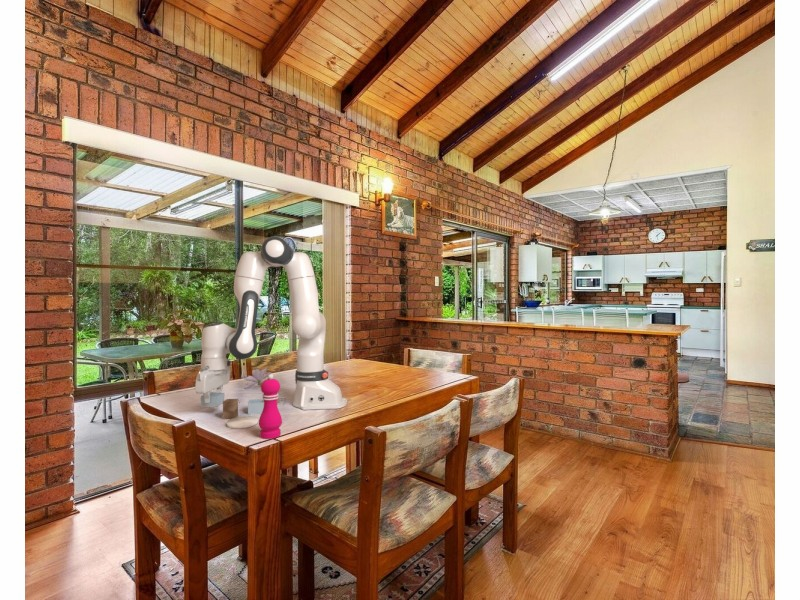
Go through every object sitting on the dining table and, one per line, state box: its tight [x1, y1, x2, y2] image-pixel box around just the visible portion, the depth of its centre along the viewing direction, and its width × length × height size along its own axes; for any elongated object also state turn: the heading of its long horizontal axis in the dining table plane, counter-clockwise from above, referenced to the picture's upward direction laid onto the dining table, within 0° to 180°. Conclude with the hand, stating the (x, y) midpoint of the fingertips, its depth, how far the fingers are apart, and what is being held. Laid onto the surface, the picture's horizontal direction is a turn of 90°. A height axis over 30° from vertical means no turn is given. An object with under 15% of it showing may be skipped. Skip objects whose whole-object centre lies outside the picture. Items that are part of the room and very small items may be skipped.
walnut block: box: [222, 398, 239, 420], centre depth 152 cm, size 4×4×6 cm
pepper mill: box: [258, 373, 283, 440], centre depth 132 cm, size 7×7×20 cm
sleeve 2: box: [247, 398, 264, 415], centre depth 160 cm, size 6×6×4 cm
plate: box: [226, 415, 259, 430], centre depth 144 cm, size 10×10×1 cm
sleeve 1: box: [200, 391, 225, 408], centre depth 159 cm, size 6×6×4 cm
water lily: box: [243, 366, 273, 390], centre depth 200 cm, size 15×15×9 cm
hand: (213, 399), depth 159 cm, fingers closed on sleeve 1, 6 cm apart
